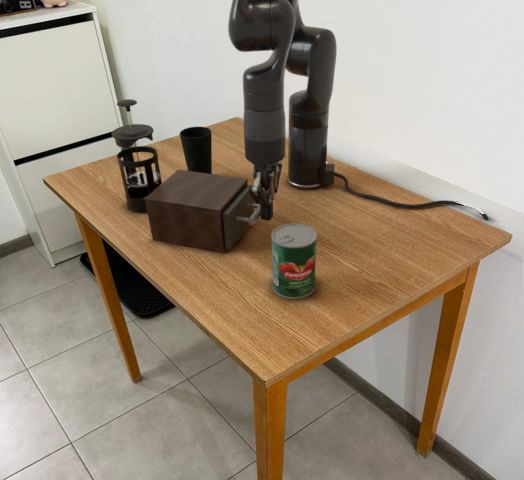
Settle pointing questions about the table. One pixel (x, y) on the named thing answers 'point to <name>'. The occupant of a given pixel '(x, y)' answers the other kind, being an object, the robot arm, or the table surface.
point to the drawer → (239, 216)
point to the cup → (197, 149)
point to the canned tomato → (293, 260)
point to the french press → (136, 180)
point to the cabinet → (192, 209)
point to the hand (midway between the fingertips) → (267, 218)
